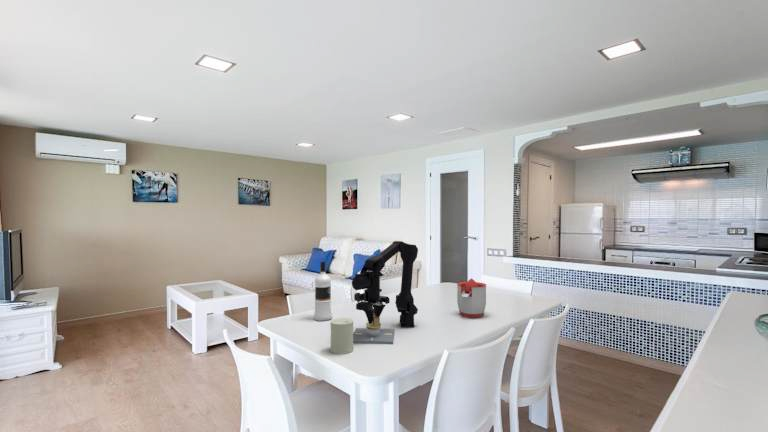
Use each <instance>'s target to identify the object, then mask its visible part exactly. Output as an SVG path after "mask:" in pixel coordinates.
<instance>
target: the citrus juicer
mask: <svg viewBox="0 0 768 432" xmlns="http://www.w3.org/2000/svg"><path fill="white" fill-rule="evenodd" d="M456 287H457V288H456V291H457V293H456V295H457V296H456V298H457V300H456V302H457V307H458V311H459V314H460V315H461V316H462V317H464V318H473V319H478V318H481V317H483V316H484V314H485V310H486V305H487V284H486V283H483V282H478V281H475V280H474V279H473V278H472V277H471V278H470V279H468V281H461V282H457V283H456Z"/></svg>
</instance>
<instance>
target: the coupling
mask: <svg viewBox="0 0 768 432" xmlns="http://www.w3.org/2000/svg"><path fill="white" fill-rule="evenodd" d="M381 325H382V324H381V320H380V317H378V316H377V315H375V314H374V316H373V321H372V324H369V322H368V321H367V322H366V325H365V327H366V328H368V329H379V328H380V329H381V327H382V326H381Z"/></svg>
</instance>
